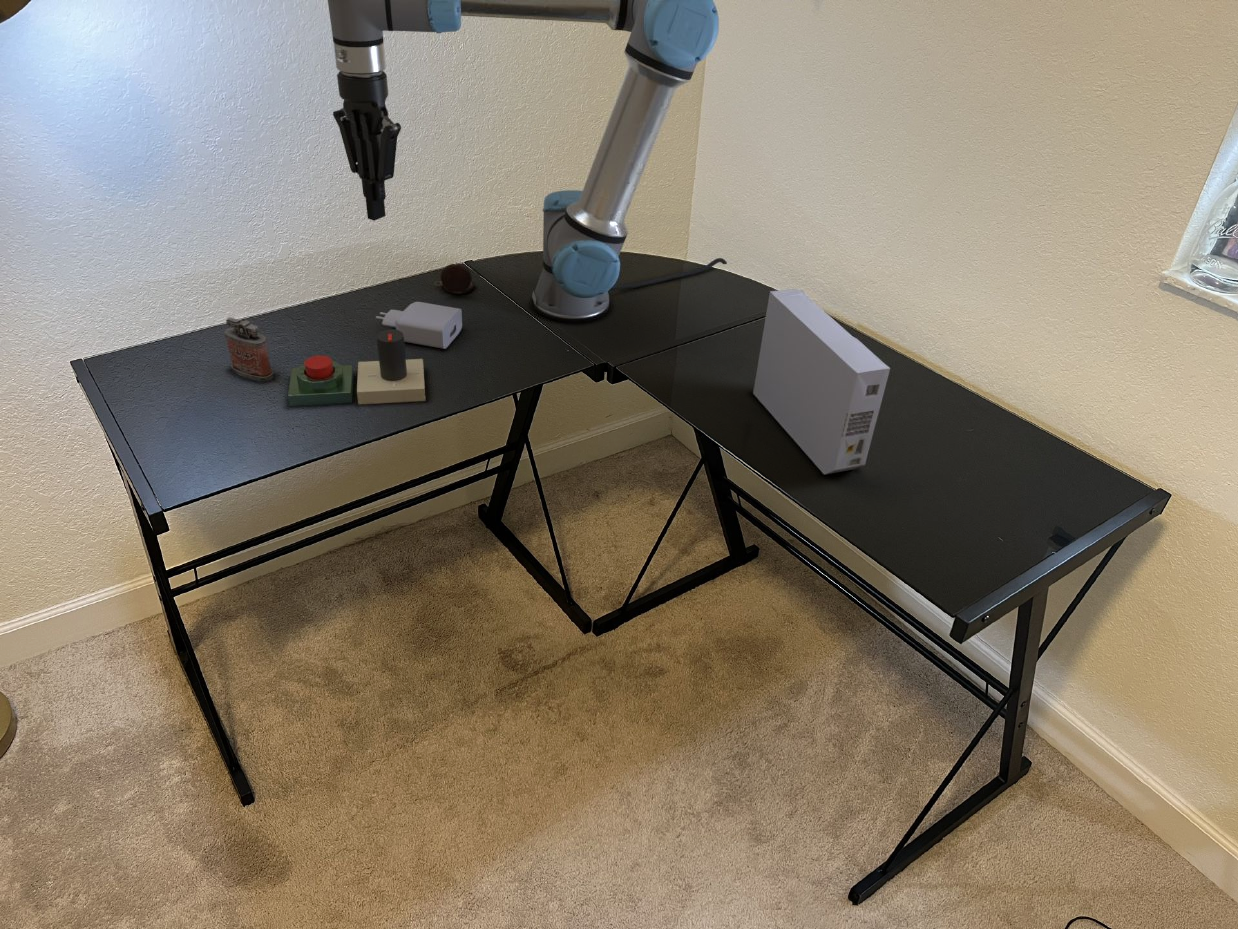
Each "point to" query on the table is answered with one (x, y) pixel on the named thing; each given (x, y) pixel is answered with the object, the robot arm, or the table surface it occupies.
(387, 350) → the hob knob
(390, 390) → the hob panel
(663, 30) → the robot arm
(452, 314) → the charger
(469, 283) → the dark brown round lump
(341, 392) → the box
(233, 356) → the lighter
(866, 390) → the game console
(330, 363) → the button
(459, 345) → the table surface
